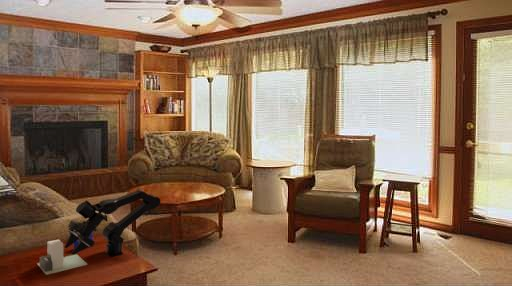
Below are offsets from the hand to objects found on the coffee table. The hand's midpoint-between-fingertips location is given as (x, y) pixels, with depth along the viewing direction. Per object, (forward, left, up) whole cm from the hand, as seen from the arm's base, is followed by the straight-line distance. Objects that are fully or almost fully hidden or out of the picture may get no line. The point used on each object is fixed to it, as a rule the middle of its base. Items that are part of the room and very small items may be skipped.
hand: (68, 251), depth 199 cm
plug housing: (+6, 0, -6) cm, 8 cm away
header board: (+3, 0, -7) cm, 7 cm away
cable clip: (-12, -16, -7) cm, 21 cm away
